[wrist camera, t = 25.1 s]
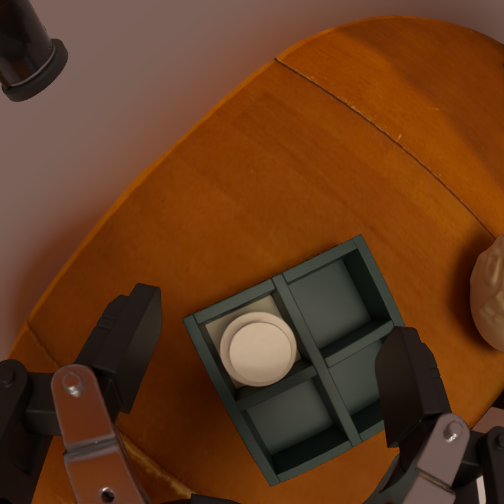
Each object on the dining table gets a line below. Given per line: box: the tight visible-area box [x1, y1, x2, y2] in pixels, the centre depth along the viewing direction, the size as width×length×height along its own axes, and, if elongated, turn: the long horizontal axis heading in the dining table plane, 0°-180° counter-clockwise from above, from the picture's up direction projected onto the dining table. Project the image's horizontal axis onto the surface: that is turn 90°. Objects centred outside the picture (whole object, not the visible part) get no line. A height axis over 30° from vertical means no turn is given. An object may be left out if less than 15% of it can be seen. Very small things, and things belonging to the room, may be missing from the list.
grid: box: [183, 234, 406, 486], centre depth 22 cm, size 14×14×4 cm
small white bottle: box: [220, 312, 297, 386], centre depth 20 cm, size 4×4×8 cm
